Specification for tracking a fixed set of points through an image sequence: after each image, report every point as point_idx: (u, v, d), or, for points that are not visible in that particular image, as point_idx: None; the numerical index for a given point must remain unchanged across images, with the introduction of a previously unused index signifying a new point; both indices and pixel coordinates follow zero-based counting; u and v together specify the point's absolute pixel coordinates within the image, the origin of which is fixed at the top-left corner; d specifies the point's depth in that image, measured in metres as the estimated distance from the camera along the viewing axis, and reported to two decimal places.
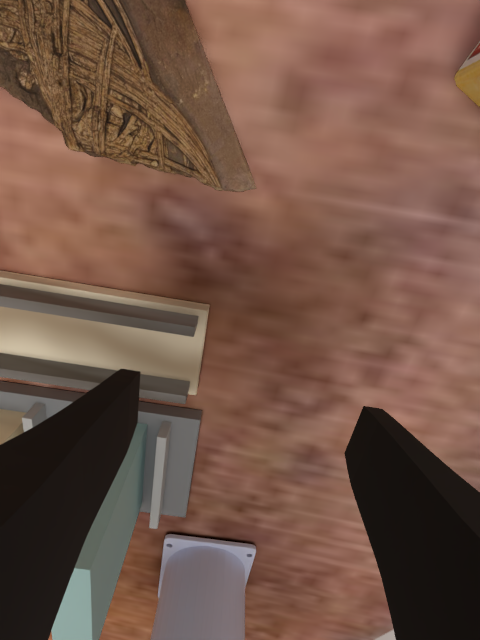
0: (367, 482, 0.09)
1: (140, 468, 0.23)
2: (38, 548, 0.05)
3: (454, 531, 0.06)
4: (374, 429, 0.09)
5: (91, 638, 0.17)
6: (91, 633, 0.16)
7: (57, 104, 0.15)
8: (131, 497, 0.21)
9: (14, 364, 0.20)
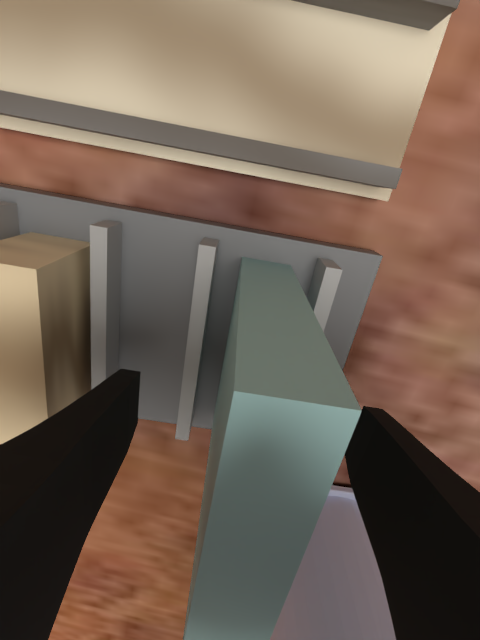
0: (367, 482, 0.09)
1: None
2: (38, 548, 0.05)
3: (454, 531, 0.06)
4: (374, 429, 0.10)
5: (276, 616, 0.07)
6: (281, 604, 0.07)
7: None
8: None
9: None
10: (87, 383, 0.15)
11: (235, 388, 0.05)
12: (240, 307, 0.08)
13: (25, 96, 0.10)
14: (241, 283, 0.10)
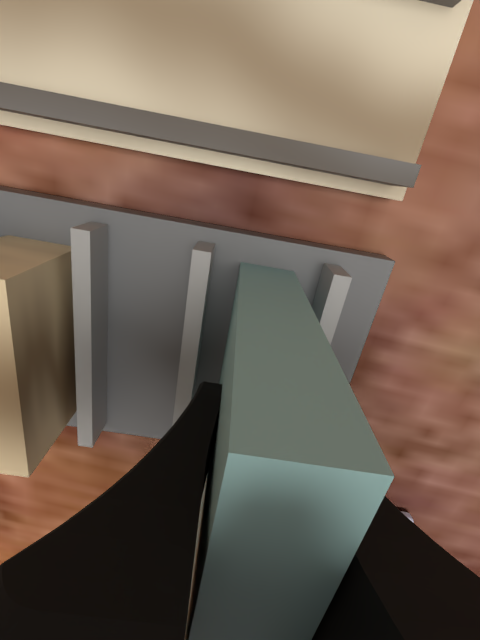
0: None
1: None
2: None
3: None
4: None
5: None
6: None
7: None
8: None
9: None
10: (73, 399, 0.14)
11: (230, 448, 0.04)
12: (238, 326, 0.07)
13: None
14: (239, 295, 0.09)
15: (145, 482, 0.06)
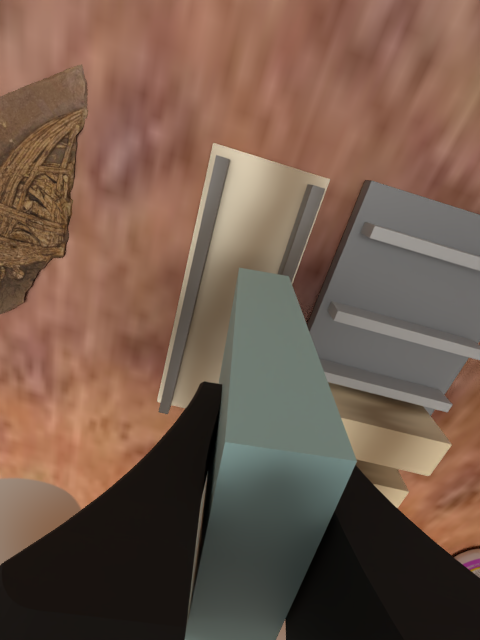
0: None
1: None
2: None
3: None
4: None
5: None
6: (275, 634, 0.07)
7: (29, 253, 0.19)
8: None
9: None
10: (411, 404, 0.21)
11: (226, 439, 0.05)
12: (235, 333, 0.08)
13: None
14: (237, 302, 0.10)
15: (145, 482, 0.06)
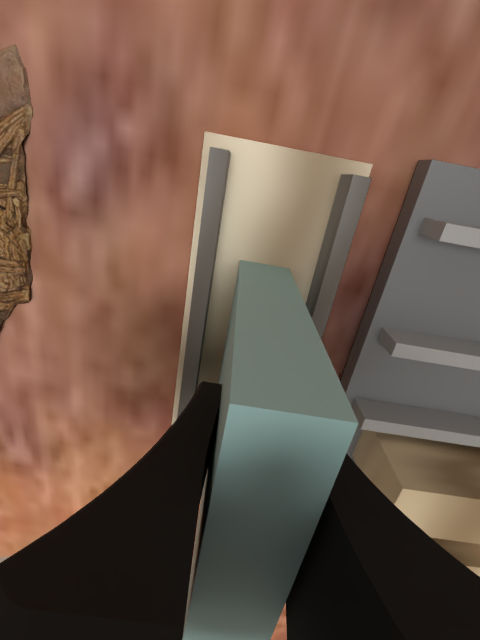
0: None
1: None
2: None
3: (326, 514, 0.06)
4: None
5: (273, 624, 0.07)
6: (278, 612, 0.07)
7: None
8: None
9: None
10: None
11: (231, 400, 0.05)
12: (237, 314, 0.08)
13: None
14: (239, 288, 0.10)
15: (144, 482, 0.06)
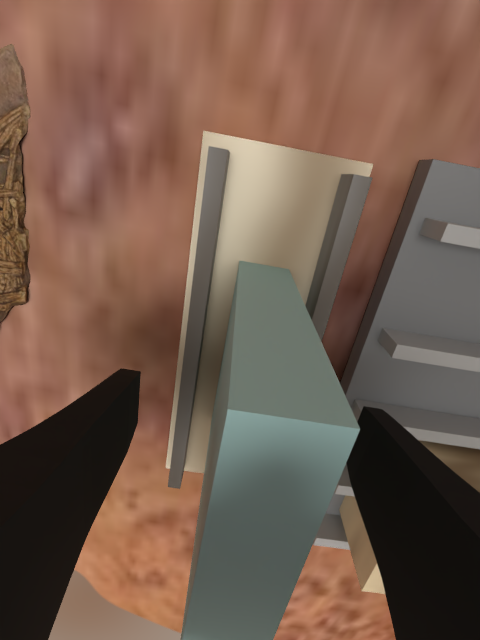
0: (367, 482, 0.09)
1: None
2: (38, 548, 0.05)
3: (454, 531, 0.06)
4: (374, 429, 0.09)
5: (273, 632, 0.07)
6: (278, 620, 0.07)
7: None
8: None
9: None
10: None
11: (229, 406, 0.05)
12: (236, 316, 0.08)
13: None
14: (238, 289, 0.10)
15: None
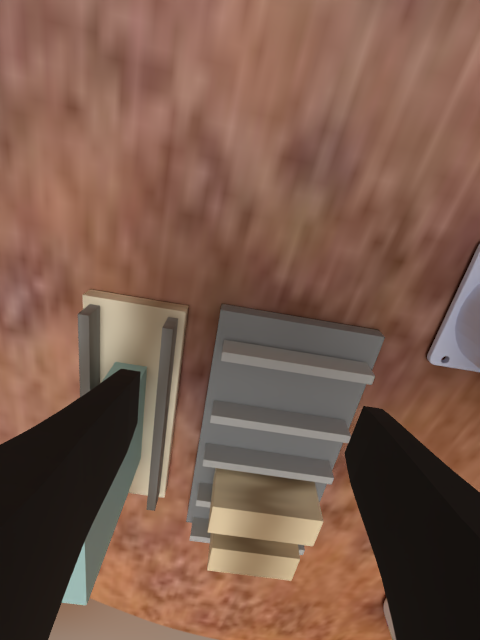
0: (367, 482, 0.09)
1: (139, 414, 0.21)
2: (38, 548, 0.05)
3: (454, 531, 0.06)
4: (374, 429, 0.09)
5: (85, 579, 0.15)
6: (85, 573, 0.15)
7: None
8: None
9: None
10: None
11: None
12: None
13: (149, 478, 0.23)
14: None
15: None
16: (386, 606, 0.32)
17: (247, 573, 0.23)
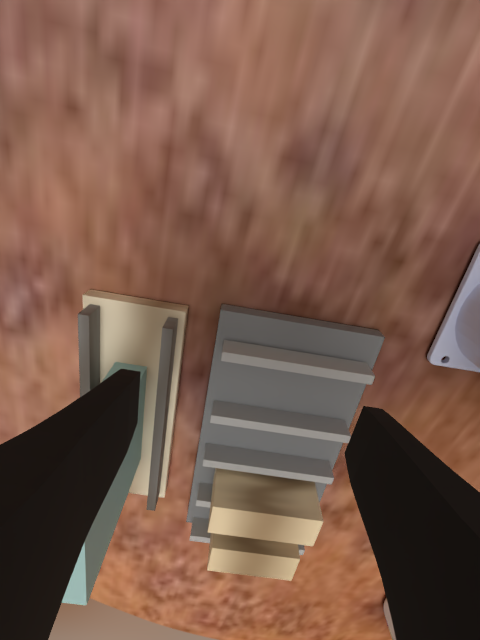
0: (367, 482, 0.09)
1: (139, 414, 0.21)
2: (38, 548, 0.05)
3: (454, 531, 0.06)
4: (374, 429, 0.09)
5: (85, 579, 0.15)
6: (85, 573, 0.15)
7: None
8: None
9: None
10: None
11: None
12: None
13: (149, 478, 0.23)
14: None
15: None
16: (386, 606, 0.32)
17: (247, 573, 0.23)
